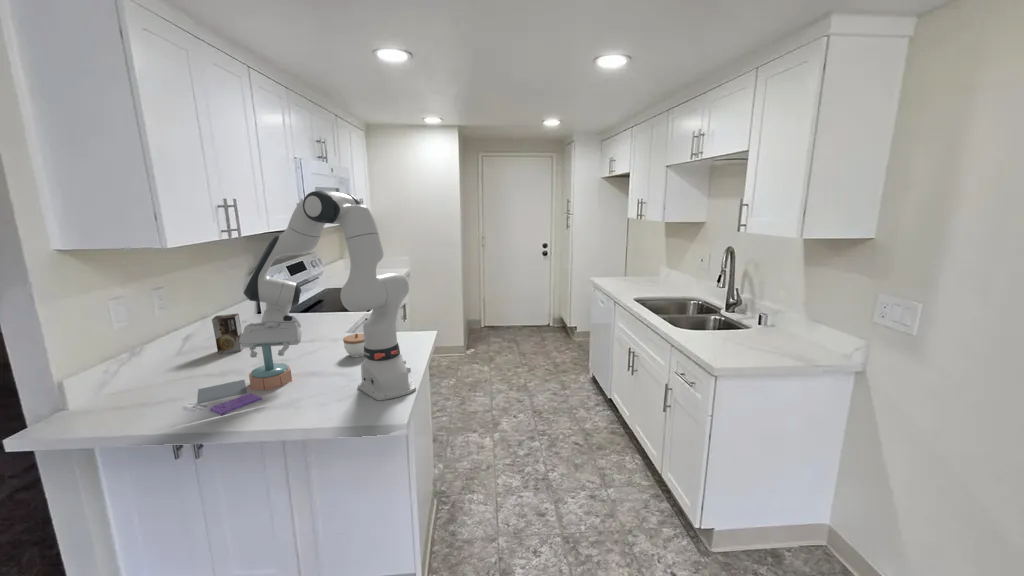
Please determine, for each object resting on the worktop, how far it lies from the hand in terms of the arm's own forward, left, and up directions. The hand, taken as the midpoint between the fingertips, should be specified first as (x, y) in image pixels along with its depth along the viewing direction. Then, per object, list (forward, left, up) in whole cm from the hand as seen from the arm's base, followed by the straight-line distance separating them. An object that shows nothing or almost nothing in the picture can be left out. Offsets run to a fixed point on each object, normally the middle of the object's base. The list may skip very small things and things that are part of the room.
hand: (266, 356), depth 156 cm
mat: (+2, +15, -11) cm, 18 cm away
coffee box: (+52, +11, -11) cm, 54 cm away
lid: (0, 0, -6) cm, 6 cm away
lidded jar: (+11, -34, -11) cm, 38 cm away
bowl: (0, 0, -11) cm, 11 cm away
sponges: (-13, +11, -11) cm, 20 cm away
